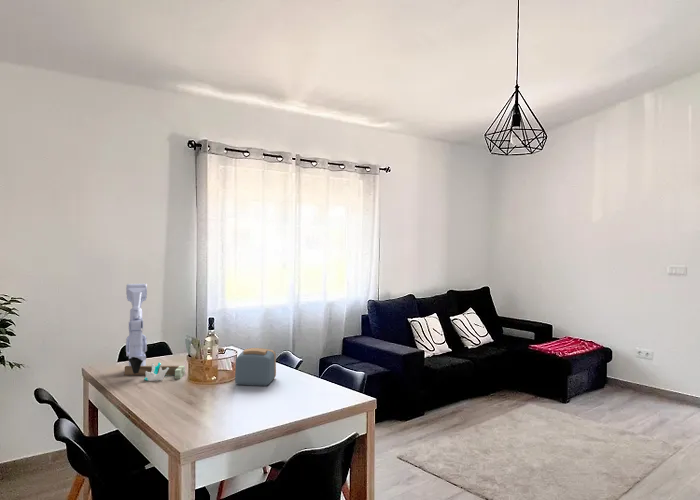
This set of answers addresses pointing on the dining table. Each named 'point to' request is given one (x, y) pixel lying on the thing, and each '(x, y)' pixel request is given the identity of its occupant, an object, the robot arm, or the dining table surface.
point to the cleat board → (172, 370)
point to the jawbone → (155, 373)
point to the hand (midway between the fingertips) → (135, 373)
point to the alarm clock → (255, 367)
